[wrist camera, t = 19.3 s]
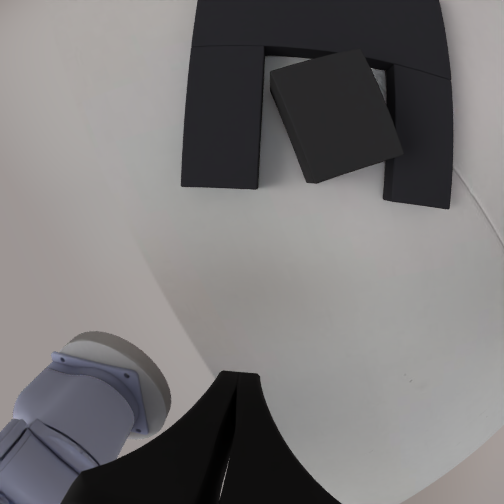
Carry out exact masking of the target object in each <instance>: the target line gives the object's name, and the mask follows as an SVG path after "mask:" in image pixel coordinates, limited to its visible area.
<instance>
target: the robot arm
mask: <svg viewBox="0 0 504 504" xmlns="http://www.w3.org/2000/svg"><path fill="white" fill-rule="evenodd" d="M51 357H52V361H53V362H52V363H50V365H48V366H47V367H46V368H45V369H44V370H43V371H42V372H41V373H40V374H39V375H38V376H37V377H36V378H35V379H34V380H33V381H32V382H31V383H30V384H29V385H28V386H27V387H26V388H25V389H24V390H23V391H22V392H21V393H20V395H19V396H18V398H17V400H16V403H15V406H14V410H13V419H12V420H11V421H10V422H9V423H8V424H7V425H6V426H5V427H4V428H3V430H2V431H1V432H0V504H341V503H340V502H339V501H337V500H336V499H335V498H334V497H333V496H332V495H330V494H329V493H328V492H327V491H326V490H325V489H324V488H323V487H322V486H321V485H320V484H319V483H318V482H317V481H316V480H315V479H314V478H313V477H312V476H311V475H310V474H309V473H308V471H307V470H306V469H305V468H304V467H303V466H302V465H301V463H300V462H299V461H298V460H297V458H296V457H295V456H294V454H293V453H292V451H291V450H290V448H289V447H288V445H287V444H286V442H285V441H284V439H283V437H282V436H281V434H280V432H279V430H278V428H277V426H276V424H275V422H274V420H273V418H272V416H271V414H270V411H269V409H268V406H267V404H266V401H265V398H264V395H263V391H262V387H261V382H260V376H259V375H258V374H257V373H245V372H233V371H221V372H220V373H219V375H218V376H217V378H216V379H215V381H214V382H213V383H212V385H211V386H210V387H209V389H208V390H207V391H206V393H204V395H203V396H202V397H201V398H200V399H199V400H198V401H197V403H196V404H195V405H194V406H193V407H192V408H191V409H190V410H189V411H188V412H187V413H186V414H185V415H184V416H183V417H182V418H180V419H179V420H178V421H177V422H176V423H175V424H174V425H172V426H171V427H170V428H169V429H167V430H166V431H165V432H163V433H162V434H161V435H159V436H158V437H156V438H155V439H153V440H152V441H150V442H149V443H147V444H145V445H144V446H142V447H140V448H138V449H137V450H135V451H133V452H131V453H129V454H127V455H125V456H122V457H121V458H118V459H117V457H118V455H119V453H120V451H121V449H122V447H123V445H124V443H125V441H126V439H127V437H128V435H129V433H130V431H131V432H135V433H139V434H144V435H147V434H148V433H149V427H148V423H147V418H146V413H145V408H144V403H143V398H142V392H141V386H140V381H139V375H138V373H137V372H136V371H134V370H131V369H126V368H121V367H116V366H111V365H107V364H102V363H98V362H94V361H90V360H86V359H82V358H78V357H74V356H70V355H67V354H63V353H59V352H56V351H54V352H52V353H51ZM126 373H127V374H128V375H127V374H126ZM228 461H229V463H228ZM227 465H228V468H227ZM226 469H227V472H226ZM225 472H226V476H225ZM224 476H225V480H224V485H223V489H222V493H221V488H222V483H223V479H224ZM220 493H221V497H220ZM219 499H220V500H219Z"/></svg>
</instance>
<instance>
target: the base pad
mask: <svg viewBox="0 0 504 504" xmlns="http://www.w3.org/2000/svg"><path fill="white" fill-rule="evenodd" d="M191 47H192V48H191V55H190V64H189V73H188V83H187V94H186V106H185V119H184V134H183V151H182V171H181V186H182V187H210V188H235V189H255V190H256V189H257V188H258V178H259V159H260V141H261V122H262V103H263V84H264V65H265V55H276V56H291V57H302V58H312V59H315V58H319V57H323V56H327V55H331V54H335V53H340V52H344V51H349V50H354V49H359V48H361V50H362V52H363V54H364V56H365V58H366V60H367V62H368V64H369V66H370V67H371V68H376V69H381V70H386V80H387V108H388V110H389V113H390V115H391V118H392V121H393V123H394V126H395V129H396V131H397V134H398V137H399V140H400V143H401V146H402V149H403V152H404V155H402V156H399V157H395V158H392V159H389V160H386V165H385V181H384V194H383V199H384V200H387V201H392V202H399V203H407V204H414V205H422V206H429V207H435V208H442V209H449V208H450V198H451V186H452V170H453V101H452V85H451V81H450V80H451V71H450V62H449V54H448V46H447V40H446V33H445V27H444V22H443V17H442V12H441V7H440V2H439V0H198V2H197V9H196V15H195V22H194V30H193V37H192V46H191Z"/></svg>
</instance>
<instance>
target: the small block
mask: <svg viewBox="0 0 504 504" xmlns="http://www.w3.org/2000/svg"><path fill="white" fill-rule="evenodd" d="M270 92H271V94H272V96H273V99H274V101H275V103H276V106H277V108H278V111H279V113H280V116H281V118H282V120H283V123H284V125H285V128H286V130H287V133H288V135H289V138H290V140H291V143H292V146H293V148H294V151H295V153H296V156H297V159H298V161H299V164H300V167H301V169H302V172H303V175H304V177H305V180H306V182H307V183H315V184H317V183H320V182H322V181H325V180H328V179H331V178H334V177H337V176H340V175H343V174H346V173H349V172H352V171H355V170H358V169H361V168H364V167H367V166H370V165H373V164H377V163H380V162H383V161H386V160H389V159H392V158H395V157H399V156H402V155H404V152H403V149H402V146H401V143H400V140H399V137H398V134H397V131H396V129H395V126H394V123H393V121H392V118H391V115H390V113H389V110H388V108H387V105H386V103H385V100H384V98H383V95H382V93H381V91H380V88H379V86H378V84H377V82H376V79H375V77H374V75H373V73H372V71H371V68H370V66H369V64H368V62H367V60H366V58H365V56H364V54H363V52H362V50H361V48H359V49H354V50H349V51H344V52H340V53H335V54H331V55H327V56H323V57H319V58H315V59H311V60H307V61H304V62H300V63H296V64H293V65H290V66H286V67H283V68H280V69H276V70H273V71H271V72H270Z"/></svg>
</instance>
